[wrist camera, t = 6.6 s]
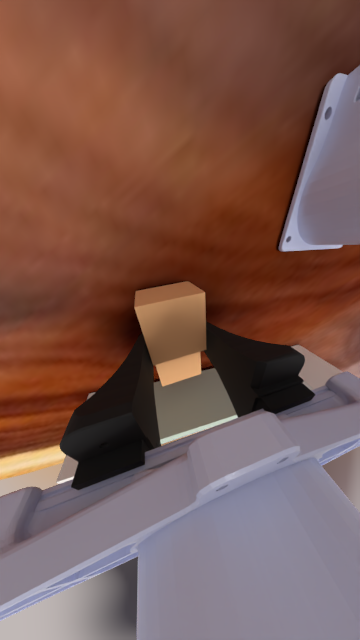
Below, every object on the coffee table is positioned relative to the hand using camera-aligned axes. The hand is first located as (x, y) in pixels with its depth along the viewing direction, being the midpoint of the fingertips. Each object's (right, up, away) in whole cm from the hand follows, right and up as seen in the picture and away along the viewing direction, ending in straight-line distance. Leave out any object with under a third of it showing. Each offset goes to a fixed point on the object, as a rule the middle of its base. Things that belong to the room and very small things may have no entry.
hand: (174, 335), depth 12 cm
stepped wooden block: (0, 0, +2) cm, 2 cm away
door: (+4, -6, +7) cm, 10 cm away
